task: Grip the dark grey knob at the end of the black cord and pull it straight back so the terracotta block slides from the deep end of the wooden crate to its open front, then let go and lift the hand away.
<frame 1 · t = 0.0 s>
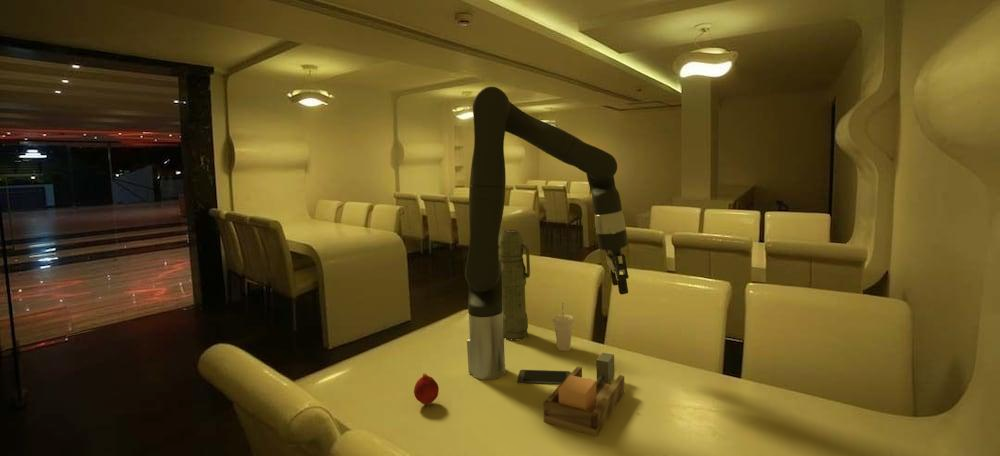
hand: (620, 289, 121), 22 cm above the table, tool pointing down, fingers open, 8 cm apart
wooden crate: (586, 406, 106), on the table
onion: (427, 405, 110), on the table
thermos: (514, 335, 152), on the table
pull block: (591, 382, 109), point 4 cm above the table, slide at 0.0 cm
smoothie: (564, 348, 140), on the table
cell phone: (544, 379, 121), on the table
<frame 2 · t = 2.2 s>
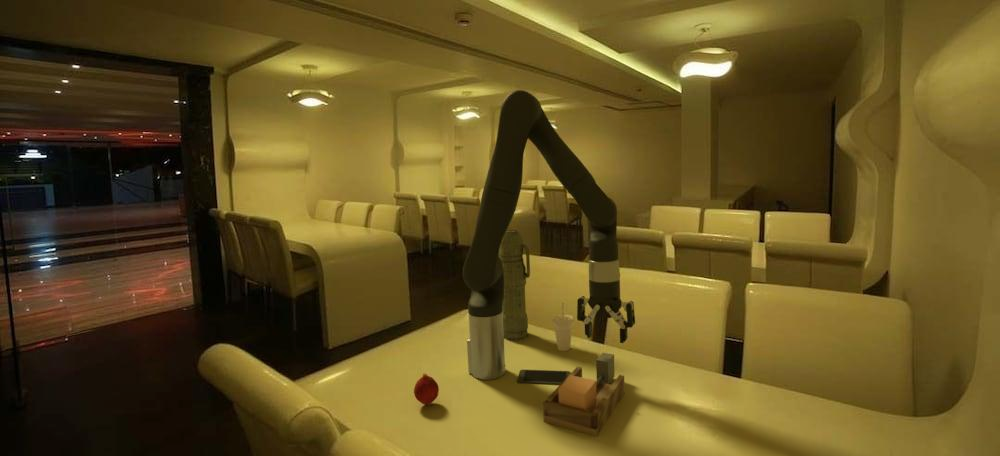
hand: (606, 339, 116), 11 cm above the table, tool pointing down, fingers open, 8 cm apart
nothing on the table moved.
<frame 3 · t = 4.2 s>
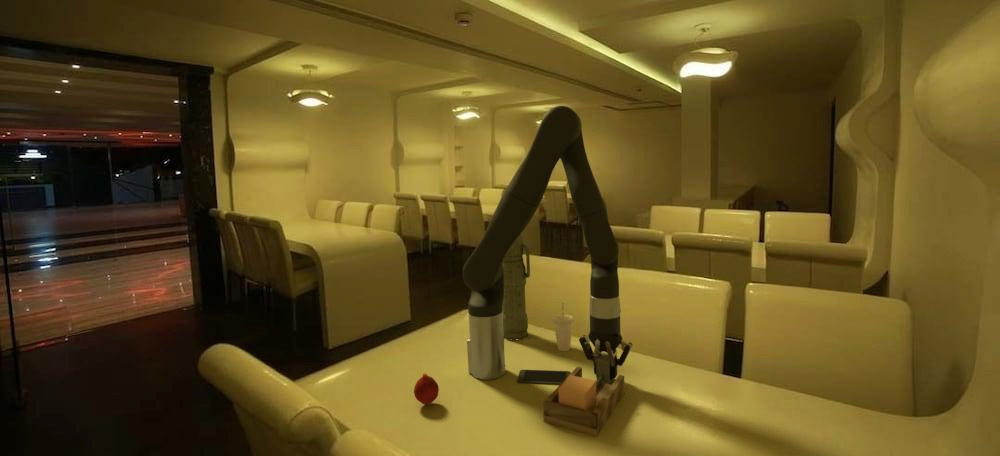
hand: (605, 377, 117), 1 cm above the table, tool pointing down, fingers closed on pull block, 3 cm apart
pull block: (591, 382, 109), point 4 cm above the table, slide at 0.0 cm, touching gripper
everything else where it was.
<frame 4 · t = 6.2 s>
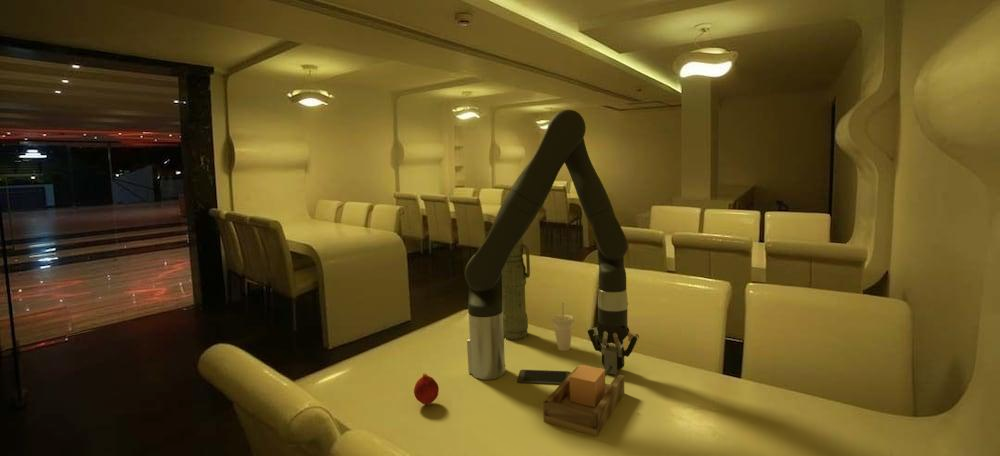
hand: (613, 367, 123), 1 cm above the table, tool pointing down, fingers closed on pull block, 3 cm apart
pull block: (600, 372, 114), point 4 cm above the table, slide at 6.2 cm, touching gripper
everything else where it was.
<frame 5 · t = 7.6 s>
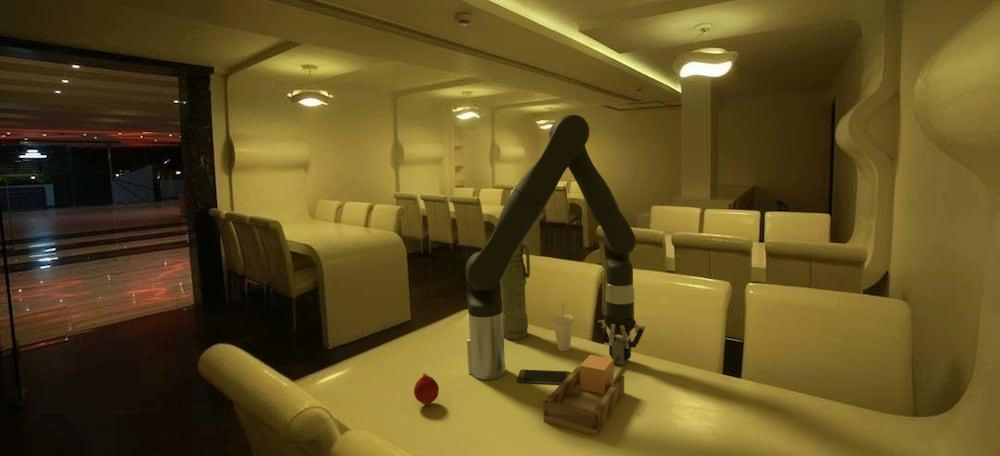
hand: (620, 358, 128), 1 cm above the table, tool pointing down, fingers closed on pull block, 3 cm apart
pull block: (608, 362, 119), point 4 cm above the table, slide at 12.7 cm, touching gripper
everything else where it was.
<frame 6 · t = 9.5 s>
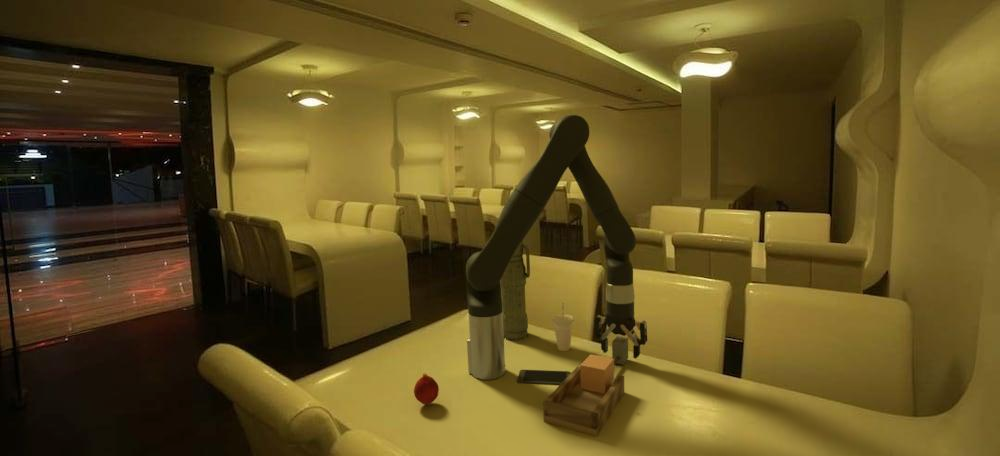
hand: (620, 354, 128), 2 cm above the table, tool pointing down, fingers open, 8 cm apart
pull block: (609, 361, 119), point 4 cm above the table, slide at 12.9 cm
everything else where it was.
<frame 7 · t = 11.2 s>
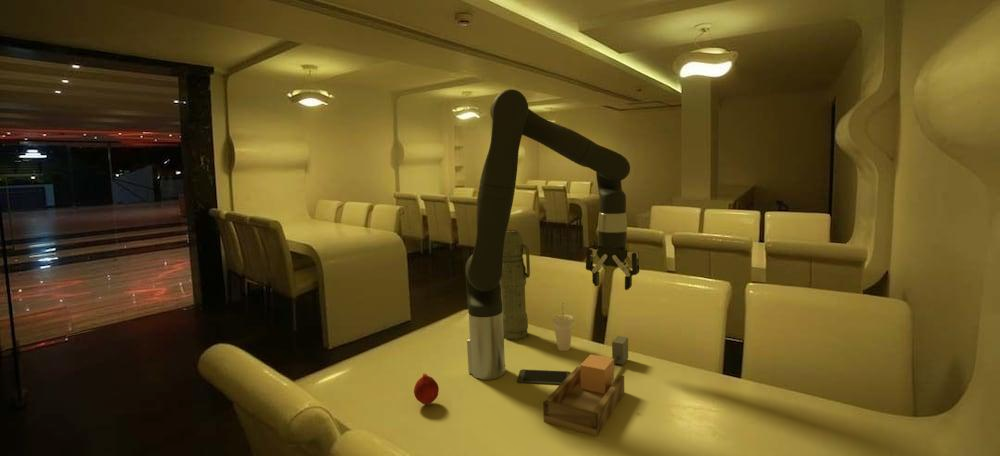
hand: (611, 287, 126), 21 cm above the table, tool pointing down, fingers open, 8 cm apart
nothing on the table moved.
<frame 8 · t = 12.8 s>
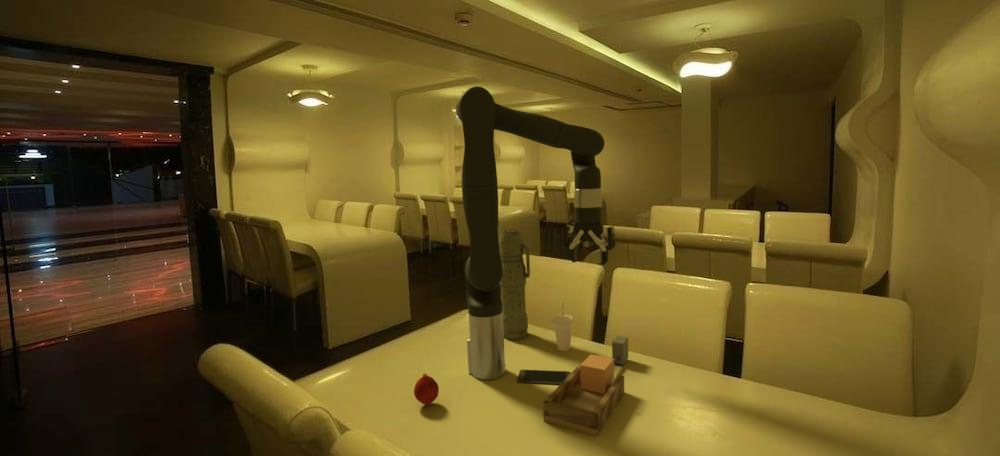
hand: (589, 263, 127), 28 cm above the table, tool pointing down, fingers open, 8 cm apart
nothing on the table moved.
at the end: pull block slide at 12.9 cm; the gripper is holding nothing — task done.
